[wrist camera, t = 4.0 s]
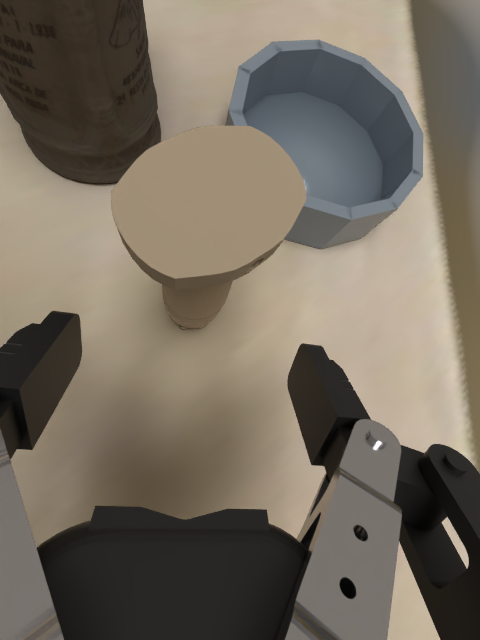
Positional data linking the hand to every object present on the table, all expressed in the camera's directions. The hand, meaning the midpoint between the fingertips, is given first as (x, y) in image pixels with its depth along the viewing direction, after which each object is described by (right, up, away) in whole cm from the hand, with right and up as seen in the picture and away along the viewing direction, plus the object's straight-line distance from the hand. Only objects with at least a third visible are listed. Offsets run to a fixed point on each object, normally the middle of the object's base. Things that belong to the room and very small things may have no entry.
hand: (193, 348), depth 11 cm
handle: (-2, +2, +13) cm, 13 cm away
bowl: (+8, +16, +18) cm, 26 cm away
